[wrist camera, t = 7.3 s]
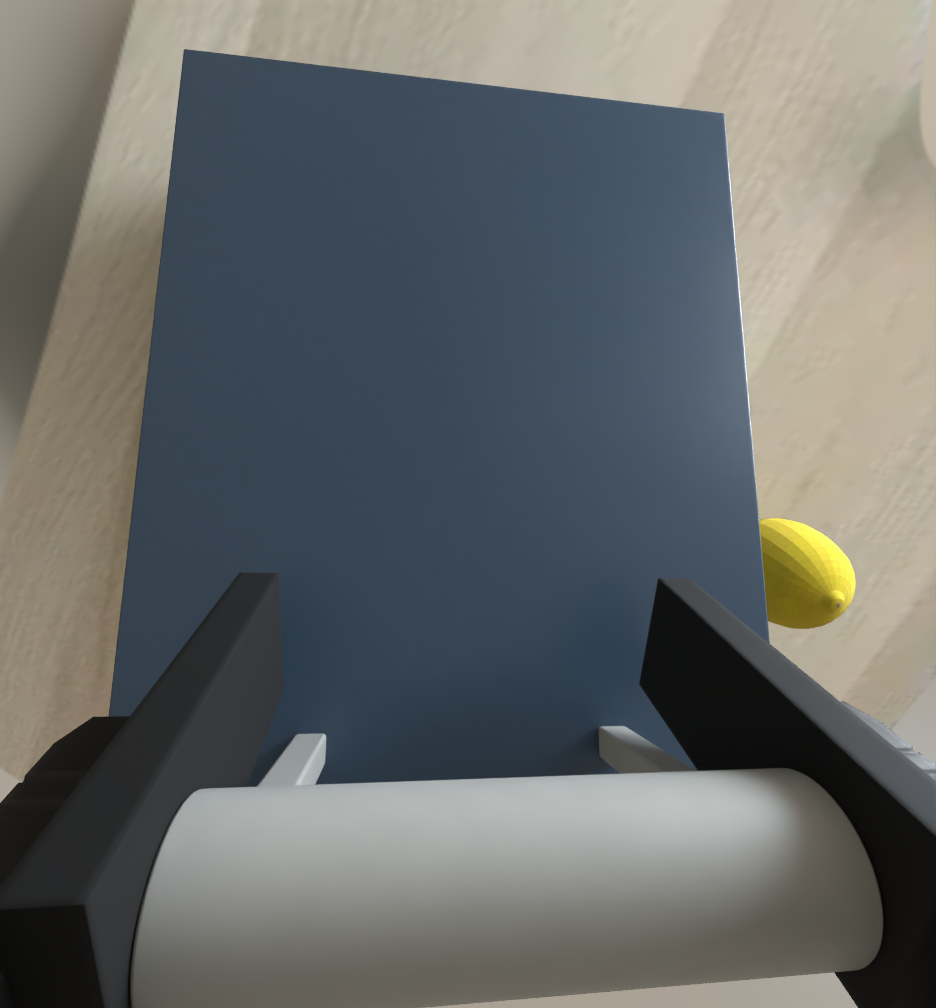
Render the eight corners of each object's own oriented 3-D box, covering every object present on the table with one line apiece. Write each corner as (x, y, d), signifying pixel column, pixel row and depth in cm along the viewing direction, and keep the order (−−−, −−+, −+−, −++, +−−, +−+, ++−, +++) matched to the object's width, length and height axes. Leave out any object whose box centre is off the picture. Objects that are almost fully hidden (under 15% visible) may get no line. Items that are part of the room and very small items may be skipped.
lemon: (754, 594, 33) (854, 667, 26) (680, 571, 32) (763, 640, 25) (796, 517, 32) (915, 570, 25) (721, 489, 31) (821, 536, 23)
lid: (765, 831, 13) (1214, 1133, 6) (110, 864, 11) (-420, 1357, 4) (709, 135, 17) (952, -227, 9) (195, 76, 15) (-15, -433, 7)
